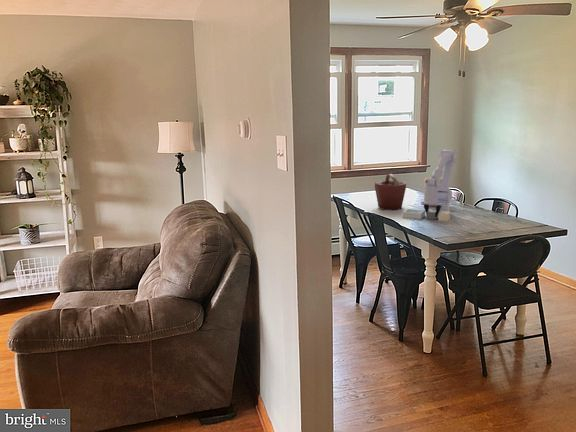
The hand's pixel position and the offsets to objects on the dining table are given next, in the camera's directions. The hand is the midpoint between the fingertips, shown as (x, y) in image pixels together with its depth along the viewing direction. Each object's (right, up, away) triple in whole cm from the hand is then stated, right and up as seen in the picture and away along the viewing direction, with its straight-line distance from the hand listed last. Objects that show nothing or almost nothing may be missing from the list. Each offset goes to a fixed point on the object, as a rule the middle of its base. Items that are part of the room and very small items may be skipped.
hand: (432, 216), depth 314 cm
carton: (+7, -2, -4) cm, 8 cm away
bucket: (-20, +6, +37) cm, 43 cm away
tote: (-10, 0, +6) cm, 12 cm away
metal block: (0, -1, 0) cm, 1 cm away
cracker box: (+14, +8, +42) cm, 45 cm away
